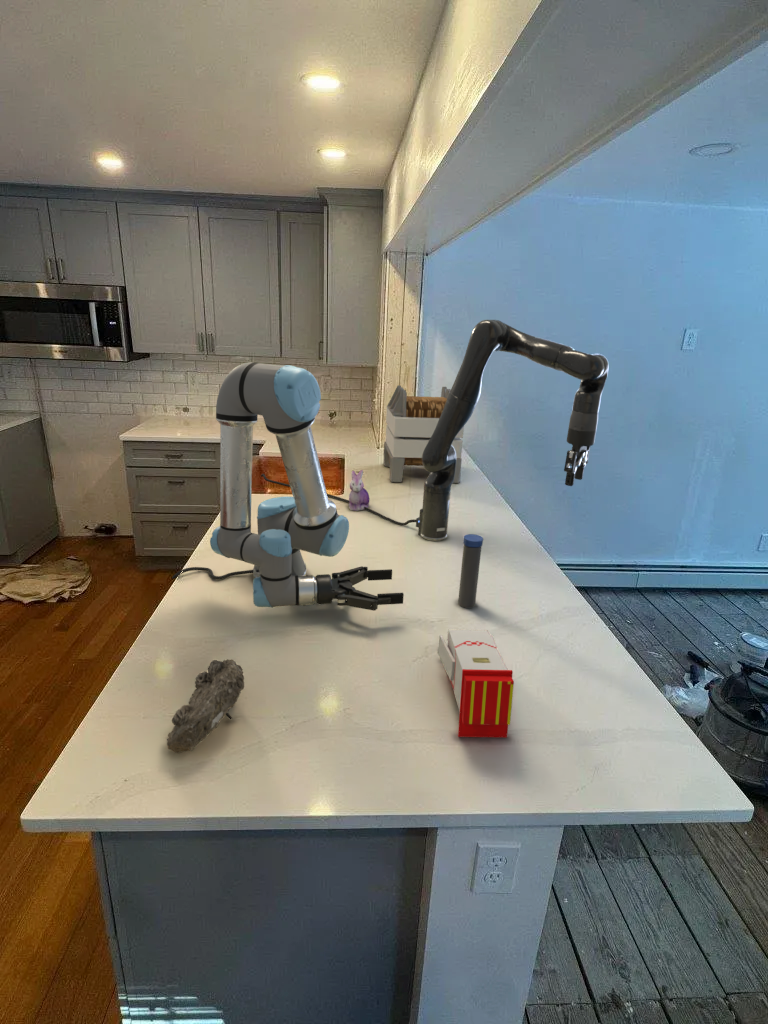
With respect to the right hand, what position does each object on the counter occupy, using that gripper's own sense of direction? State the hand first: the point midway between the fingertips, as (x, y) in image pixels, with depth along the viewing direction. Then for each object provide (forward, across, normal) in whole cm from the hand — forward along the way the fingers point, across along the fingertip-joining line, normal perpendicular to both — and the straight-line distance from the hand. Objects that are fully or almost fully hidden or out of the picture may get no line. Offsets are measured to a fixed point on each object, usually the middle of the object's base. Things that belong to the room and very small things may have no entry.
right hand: (573, 482), depth 165 cm
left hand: (+23, +51, -26) cm, 62 cm away
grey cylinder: (+29, +36, -13) cm, 48 cm away
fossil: (+29, +108, -30) cm, 115 cm away
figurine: (+29, -6, -83) cm, 88 cm away
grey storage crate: (+29, -65, -92) cm, 116 cm away
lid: (+10, +36, -13) cm, 40 cm away
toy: (+29, +70, +5) cm, 76 cm away
